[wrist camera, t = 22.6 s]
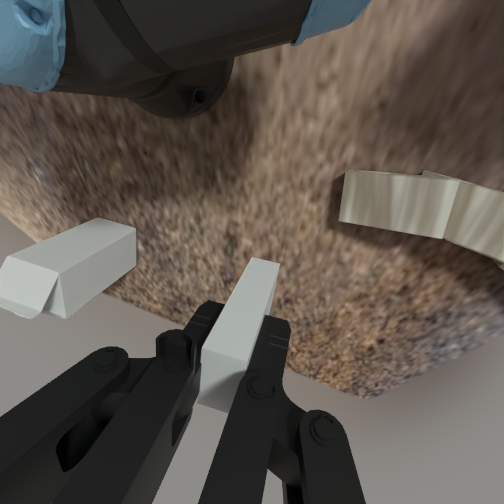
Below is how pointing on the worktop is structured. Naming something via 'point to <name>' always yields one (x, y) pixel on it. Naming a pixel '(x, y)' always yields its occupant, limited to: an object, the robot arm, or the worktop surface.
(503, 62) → the worktop surface
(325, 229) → the worktop surface
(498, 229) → the domino
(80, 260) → the milk carton
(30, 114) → the worktop surface
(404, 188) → the domino
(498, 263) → the domino
